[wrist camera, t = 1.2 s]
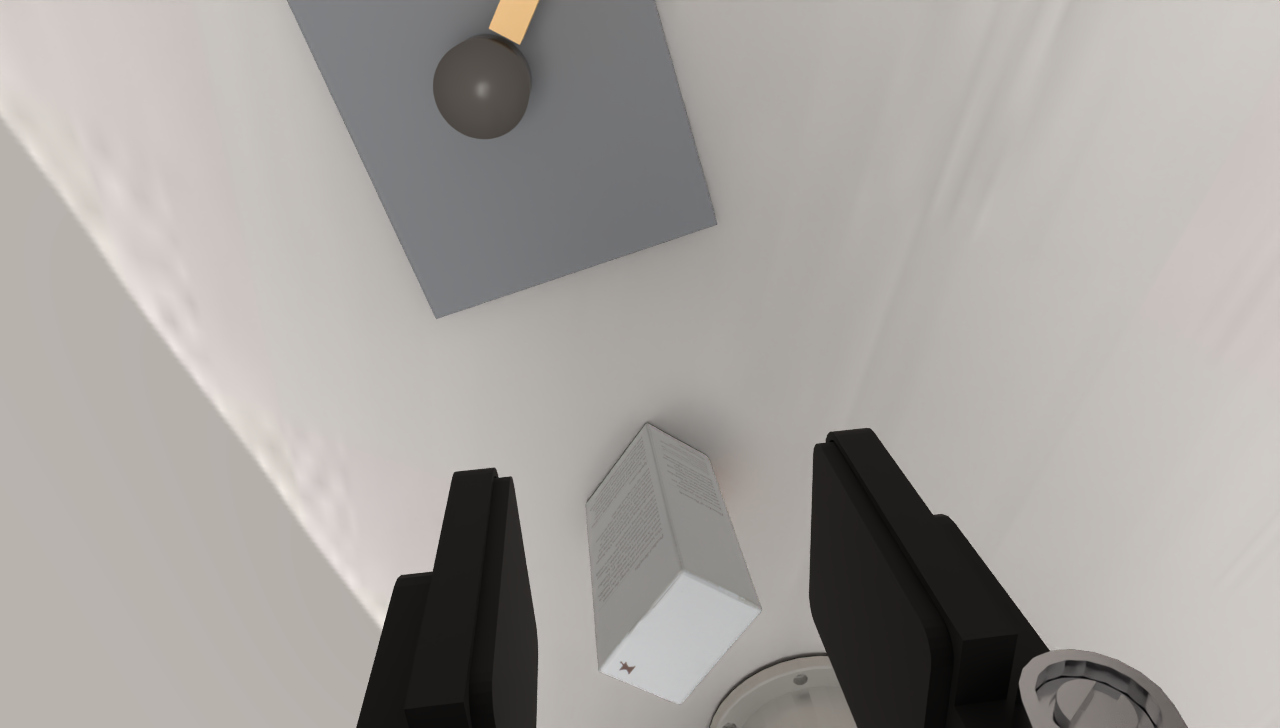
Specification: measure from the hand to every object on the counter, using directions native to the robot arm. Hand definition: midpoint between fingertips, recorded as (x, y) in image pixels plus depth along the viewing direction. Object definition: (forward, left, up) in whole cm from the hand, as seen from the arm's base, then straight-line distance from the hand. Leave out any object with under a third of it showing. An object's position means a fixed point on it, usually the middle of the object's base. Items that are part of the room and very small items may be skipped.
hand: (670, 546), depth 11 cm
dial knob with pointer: (+5, -5, -26) cm, 27 cm away
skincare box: (-8, +15, -28) cm, 32 cm away
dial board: (+5, -3, -27) cm, 28 cm away
